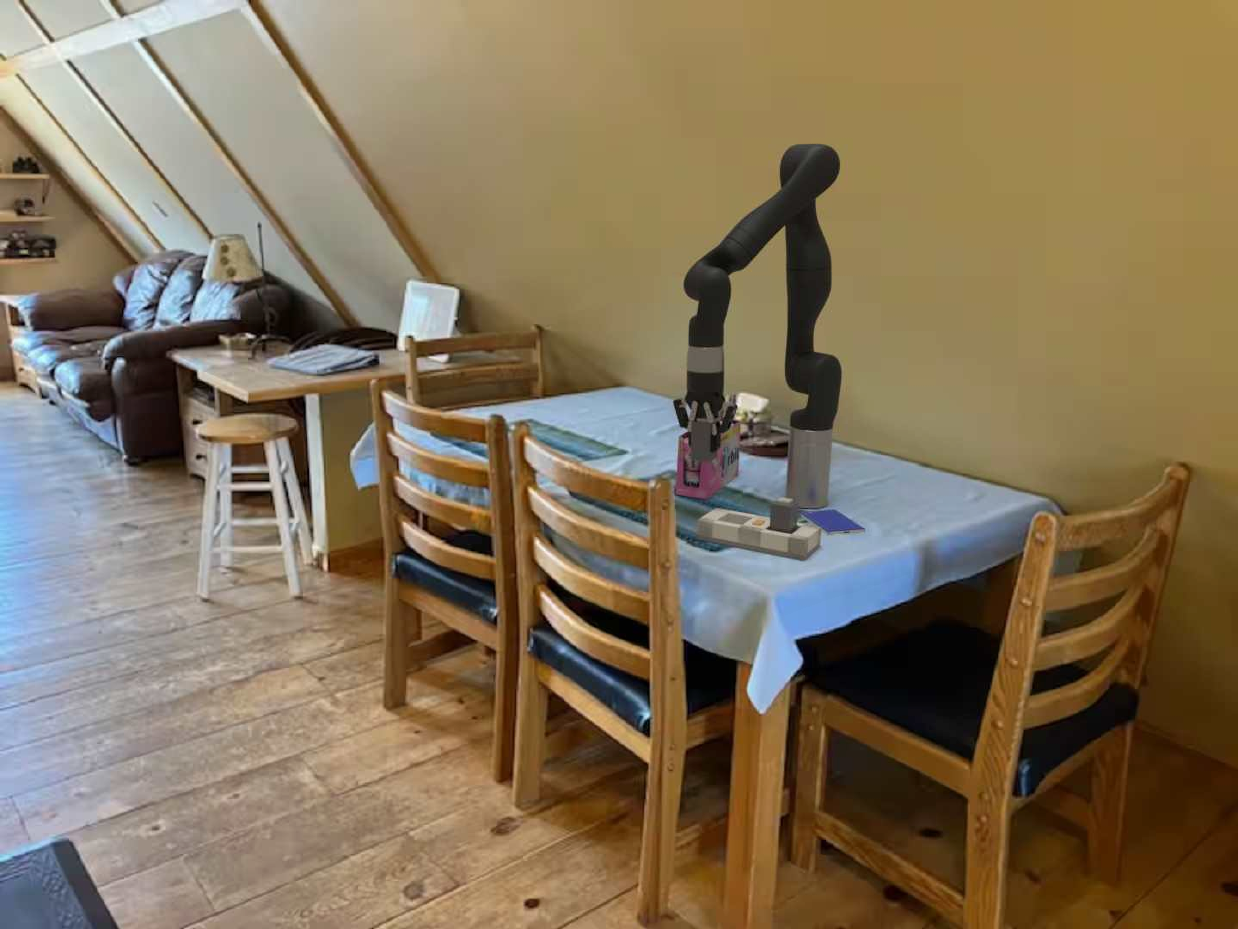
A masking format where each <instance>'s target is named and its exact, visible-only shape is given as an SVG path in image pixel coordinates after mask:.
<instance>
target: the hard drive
mask: <svg viewBox="0 0 1238 929" xmlns="http://www.w3.org/2000/svg"><path fill="white" fill-rule="evenodd" d="M800 518H802V519H803V520H805V521H807V523H809V524H810V525H814V526H820V527H821V533H824V534H825V535H826V536H829V535H830V536H835V535H834V534H841V535H852V534H851V533H853V534H861V532H865V533H866V529H865V528H864V527H863V526H861V525H860V524H858V523H856V522H855V521H854V520H853V519H850V518H849V517H847V516H846V515H845V514H843V513H842V512H840V511H838V510H837V509H821V510H810V511H808V510H807V511H802V512H801V514H800ZM830 536H829V537H830Z"/></svg>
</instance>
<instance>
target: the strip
mask: <svg viewBox="0 0 1238 929" xmlns="http://www.w3.org/2000/svg"><path fill="white" fill-rule="evenodd" d="M769 529H770V517H769V516H765V515H757V514H753V513H746V512H740V511H736V510H732V509H731V510H730V509H725V508H720V507H716V508H714V509H712V510H710V511H709V512H708V513H706V514H704V515H703V516H701V517H700V518H698V519H697V520H696V540H699V541H703V540H704V541H705V542H709V543H713V544H720V545H723V546H730V547H734V548H737V549H738V548H739V549H744V550H749V551H754V552H759V553H764V554H768V555H773V556H774V555H775V556H779V557H783V558H788V559H794V560H799V561H805V560H806V559H808V557H810V556H811V555H813V553H814V552H816V551H817V550H818V549H819V548H820V547H821V536H822V531H821V527H820V526H814V525H812V524H810V523H809V524H808V523H803V522H798V521H797V530H796V531H795V532H794V533H793V534H788V533H782V532H777V531H772V530H769Z"/></svg>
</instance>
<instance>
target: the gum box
mask: <svg viewBox="0 0 1238 929" xmlns="http://www.w3.org/2000/svg"><path fill="white" fill-rule="evenodd" d="M722 421H723V418H721V420H720V423H721V424H722ZM741 423H742V420H737V419H733V422H732V424H731V427H730V429H729V430H728V431H726V432H724V433H721V443H720V444H721V446H720V448H719V449H718V451H717V458H715V459H713V460H711V461H710V462H705V461H698V460H691V448H690V446H689V444H688V430H687V431H685V432H684V433H682V434H681V435H679V436H678V447H677V461H676V462H677V463H676V478H675V480H676V482H675V495H677V496H678V495H679V496H683V497H689V498H695V499H703V500H708V499H709V498H710V497H712V496H713V495H715V494H716V493H717V492H719V491H720V490H722V489H723V488H724V487H725V486H727V485H728V484H729V483H730V482H732V481H733V480H735V479H736V478H737V477H738V476H739V472H740V471H739V467H740V447H741V445H740V444H741V443H740V442H741V426H742V424H741Z"/></svg>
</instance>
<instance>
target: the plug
mask: <svg viewBox="0 0 1238 929" xmlns="http://www.w3.org/2000/svg"><path fill="white" fill-rule="evenodd" d="M711 435H712V433H711V424H710V423H708V420H707V418H705V417H698V418H697V420H696V421H691V460H698V461H705V462H710V461H711V460H713V459H715V458H717V451H716V452H711Z"/></svg>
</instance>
